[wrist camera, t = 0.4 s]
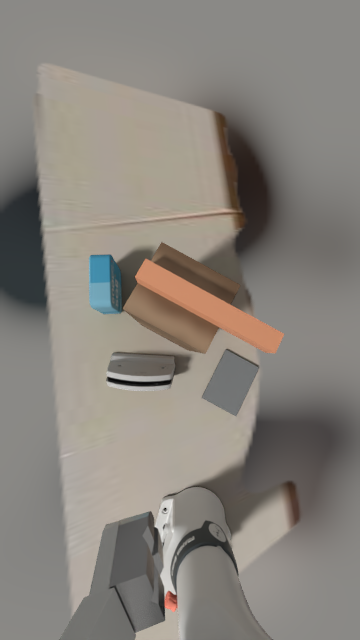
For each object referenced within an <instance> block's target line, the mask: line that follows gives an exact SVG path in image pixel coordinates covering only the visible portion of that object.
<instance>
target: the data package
mask: <svg viewBox="0 0 360 640" xmlns="http://www.w3.org/2000/svg"><path fill="white" fill-rule="evenodd" d="M89 296H90V305H91V307H92V308H93V309H95V310H97V311H99V312H101V313H103V314H118V313H121V312H122V295H121V272H120V269H119V267H118V266H117V264H116V262H115V261H114V259H113V257H112V256H111V255H91V256H90V257H89Z"/></svg>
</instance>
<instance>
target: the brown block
mask: <svg viewBox="0 0 360 640" xmlns="http://www.w3.org/2000/svg"><path fill="white" fill-rule="evenodd" d="M151 262H153V263H155V264H157V265H159V266H160V267H162V268H164V269H166V270H168V271H170V272H171V273H173V274H175V275H177V276H179V277H181V278H182V279H184V280H186V281H188V282H190V283H192V284H193V285H195V286H197V287H199V288H201V289H203V290H204V291H206V292H208V293H210V294H212V295H214V296H215V297H217V298H219V299H221V300H223V301H225V302H226V303H228V304H230V305H231V303H232V301H233V299H234V297H235V295H236V293H237V291H238V289H239V287H240V285H239V284H238V283H236V282H234V281H232V280H230V279H228V278H227V277H225V276H223V275H221V274H219V273H217V272H216V271H214V270H212V269H210V268H208V267H206V266H205V265H203V264H201V263H199V262H197V261H195V260H194V259H192V258H190V257H188V256H186V255H184V254H183V253H181V252H179V251H177V250H175V249H173V248H172V247H170V246H168V245H166V244H164V243H161V244H160V246H159V248H158V249H157V251H156V253H155V254H154V256H153V258H152V259H151ZM123 310H125V311H126V312H127V313H128V314H129V315H130V316H132V317H133V318H134V319H135V320H136V321H137V322H139V323H140V324H141V325H142V326H144V327H146V328H148V329H150V330H152V331H153V332H155V333H157V334H159V335H161V336H163V337H164V338H166V339H168V340H170V341H172V342H174V343H175V344H177V345H179V346H181V347H183V348H185V349H186V350H189V351H194V352H199V353H204V354H205V353H206V352H207V350H208V348H209V346H210V344H211V342H212V340H213V338H214V336H215V334H216V332H217V330H218V328H219V327H218V326H216V325H214V324H212V323H210V322H208V321H207V320H205V319H203V318H201V317H199V316H197V315H196V314H194V313H192V312H190V311H188V310H186V309H185V308H183V307H181V306H179V305H177V304H175V303H174V302H172V301H170V300H168V299H166V298H164V297H163V296H161V295H159V294H157V293H155V292H153V291H152V290H150V289H148V288H146V287H144V286H142V285H141V284H139V283H137V285H136V287H135V288H134V290H133V292H132V293H131V295H130V297H129V298H128V300H127V302H126V304H125V305H124V307H123Z"/></svg>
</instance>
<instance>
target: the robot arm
mask: <svg viewBox="0 0 360 640" xmlns="http://www.w3.org/2000/svg"><path fill="white" fill-rule="evenodd" d="M164 508H167V509H164ZM230 540H231V533H230V530H229V528H228V526H227V524H226V520H225V512H224V508H223V505H222V503H221V501H220V500H219V498H218V497H217V496H216V495H215V494H214V493H213V492H211V491H210V490H208V489H205V488H202V487H192V488H188V489H185V490H183V491H182V492H180V493H178V494H177V495H173V496H167V497H164V498H163V499H162V501H161V505H160V508H159V512H158V515H157V519H156V522H155V525H154V517H153V515H152V512H151V511H150V512H146V513H143V514H139V515H136V516H133V517H129V518H126V519H123V520H119V521H116V522H113V523H110V524H107V525H106V526H105V528H104V530H103V533H102V537H101V542H100V547H99V551H98V556H97V561H96V566H95V570H94V575H93V580H92V584H91V589H90V594H89V596H87V597H84V598H83V600H82V602H81V604H80V605H79V607H78V609H77V610H76V612H75V614H74V615H73V617H72V619H71V621H70V622H69V624H68V626H67V627H66V629H65V631H64V633H63V634H62V636H61V638H60V639H59V640H135V637H136V634H135V633H136V632H138V631H141V630H143V629H146V628H148V627H151V626H153V625H156V624H158V623H160V622H163V621H165V608H167V609H171V610H172V611H173V612H174V611H175V610H176V608H178V627H179V639H180V640H273V639H272V638H271V637H270V636H269V635H268V634H267V633H266V632H265V630H264V629H263V628H262V627H261V626H260V624H259V623H258V621H257V620H256V619H255V617H254V615H253V614H252V612H251V610H250V607H249V605H248V602H247V600H246V598H245V595H244V592H243V590H242V587H241V584H240V581H239V578H238V569H237V564H236V560H235V558H234V554H233V551H232V547H231V543H230ZM164 594H165V595H166V597H165V596H164Z"/></svg>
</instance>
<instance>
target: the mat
mask: <svg viewBox="0 0 360 640" xmlns="http://www.w3.org/2000/svg"><path fill="white" fill-rule="evenodd" d="M258 369H259V367H257V366H255V365H253V364H252V363H250V362H248V361H246V360H244V359H242V358H241V357H239V356H237V355H235V354H233V353H231V352H230V351H228V350H225V352H224V354H223V356H222V358H221V360H220V362H219V364H218V366H217V368H216V370H215V372H214V374H213V376H212V378H211V380H210V382H209V384H208V386H207V388H206V390H205V392H204V394H203V396H202V398H203V399H205V400H207V401H209V402H211V403H213V404H214V405H216V406H218V407H220V408H222V409H224V410H225V411H227V412H229V413H231V414H233V415H235V416H236V415H237V413H238V411H239V409H240V407H241V405H242V403H243V400H244V398H245V396H246V394H247V392H248V390H249V388H250V386H251V384H252V381H253V379H254V377H255V375H256V373H257V371H258Z"/></svg>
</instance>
